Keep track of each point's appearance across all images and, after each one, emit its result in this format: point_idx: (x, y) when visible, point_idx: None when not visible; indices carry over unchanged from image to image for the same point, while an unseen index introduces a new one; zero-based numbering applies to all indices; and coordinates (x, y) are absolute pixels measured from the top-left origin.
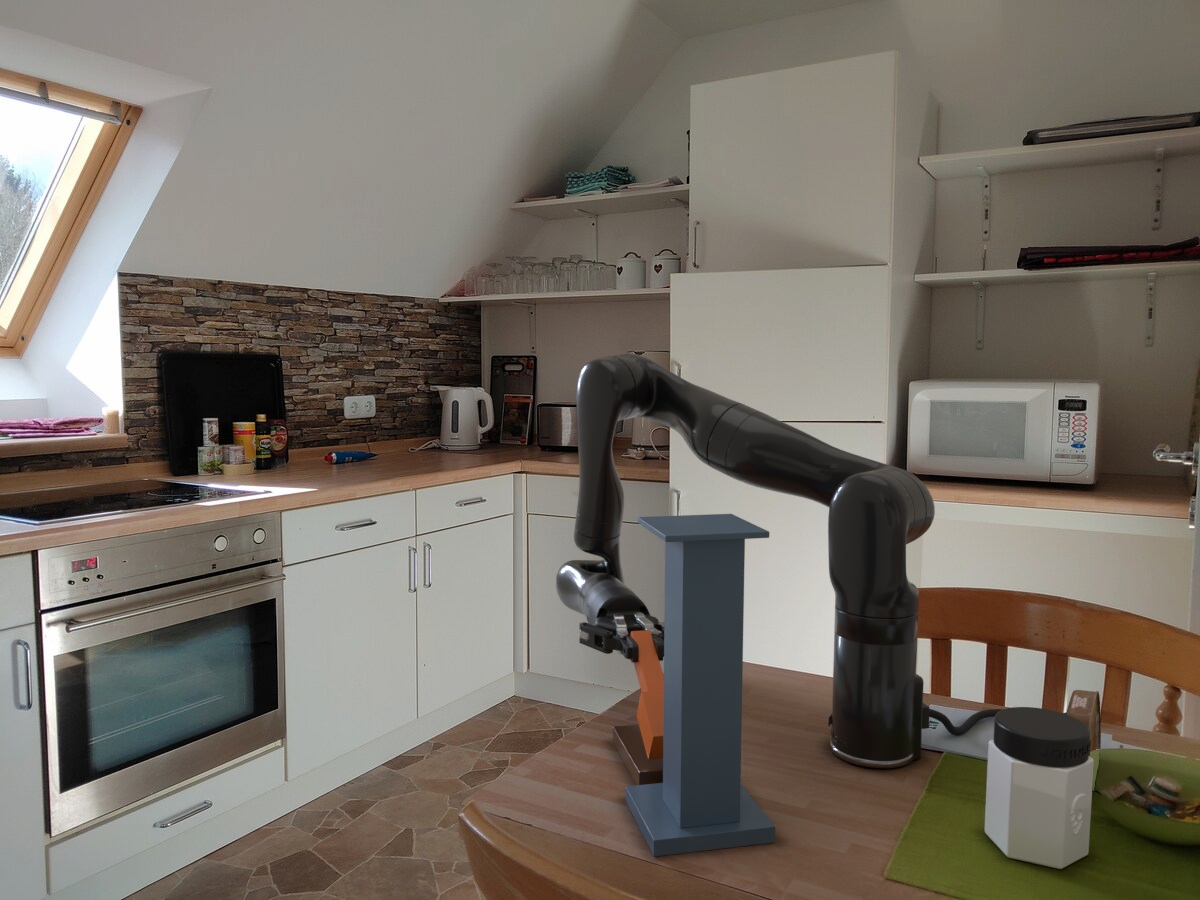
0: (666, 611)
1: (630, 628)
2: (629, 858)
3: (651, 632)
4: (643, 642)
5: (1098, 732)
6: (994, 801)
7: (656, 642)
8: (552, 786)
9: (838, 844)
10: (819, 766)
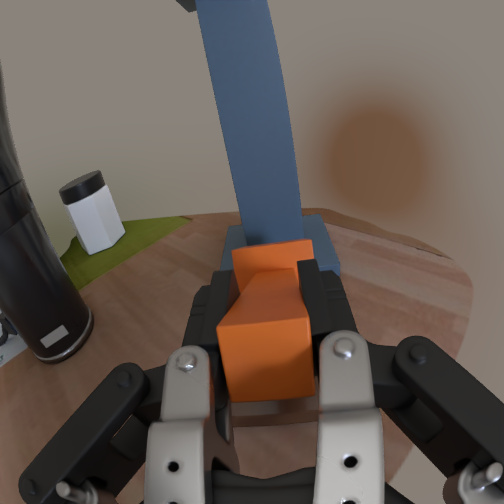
0: (277, 54)
1: (283, 474)
2: (337, 223)
3: (205, 354)
4: (268, 304)
5: None
6: (109, 219)
7: (231, 274)
8: (419, 298)
9: (192, 237)
10: (117, 321)
